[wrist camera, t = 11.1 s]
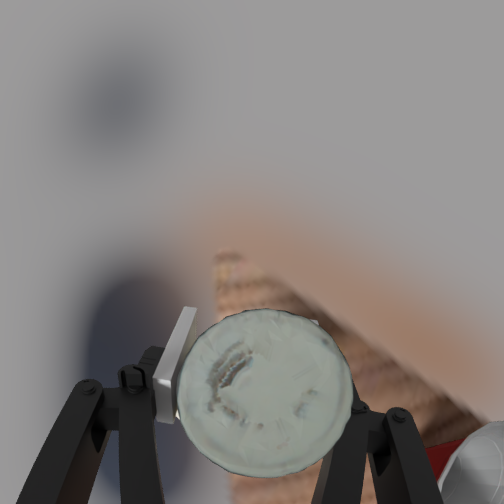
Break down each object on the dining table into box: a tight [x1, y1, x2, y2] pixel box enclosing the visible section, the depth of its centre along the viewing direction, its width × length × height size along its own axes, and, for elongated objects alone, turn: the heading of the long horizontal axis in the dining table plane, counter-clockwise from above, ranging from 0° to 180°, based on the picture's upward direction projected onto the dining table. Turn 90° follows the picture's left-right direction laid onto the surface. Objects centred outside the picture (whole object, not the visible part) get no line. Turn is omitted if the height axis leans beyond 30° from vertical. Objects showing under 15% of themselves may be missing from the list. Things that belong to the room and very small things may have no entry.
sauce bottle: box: [176, 308, 353, 478], centre depth 15 cm, size 6×6×20 cm
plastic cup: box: [425, 421, 504, 504], centre depth 18 cm, size 11×11×12 cm
